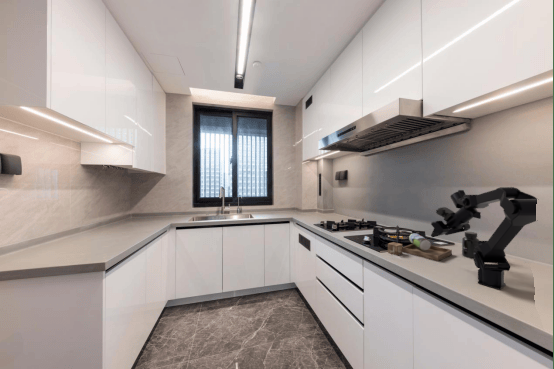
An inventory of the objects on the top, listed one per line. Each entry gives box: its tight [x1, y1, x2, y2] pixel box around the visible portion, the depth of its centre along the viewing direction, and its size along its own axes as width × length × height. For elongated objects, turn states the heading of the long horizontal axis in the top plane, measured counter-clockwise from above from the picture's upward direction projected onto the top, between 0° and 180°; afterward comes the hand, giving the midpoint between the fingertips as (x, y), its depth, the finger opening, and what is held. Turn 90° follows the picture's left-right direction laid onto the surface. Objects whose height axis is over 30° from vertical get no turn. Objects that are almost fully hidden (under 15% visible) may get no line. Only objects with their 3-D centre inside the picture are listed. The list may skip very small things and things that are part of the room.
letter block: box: [387, 241, 403, 256], centre depth 126 cm, size 5×5×5 cm
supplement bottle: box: [461, 231, 480, 259], centre depth 118 cm, size 7×7×12 cm
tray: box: [402, 243, 453, 262], centre depth 124 cm, size 17×15×2 cm
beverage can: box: [408, 232, 432, 251], centre depth 128 cm, size 6×7×12 cm
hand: (438, 235), depth 115 cm, fingers open, 9 cm apart
